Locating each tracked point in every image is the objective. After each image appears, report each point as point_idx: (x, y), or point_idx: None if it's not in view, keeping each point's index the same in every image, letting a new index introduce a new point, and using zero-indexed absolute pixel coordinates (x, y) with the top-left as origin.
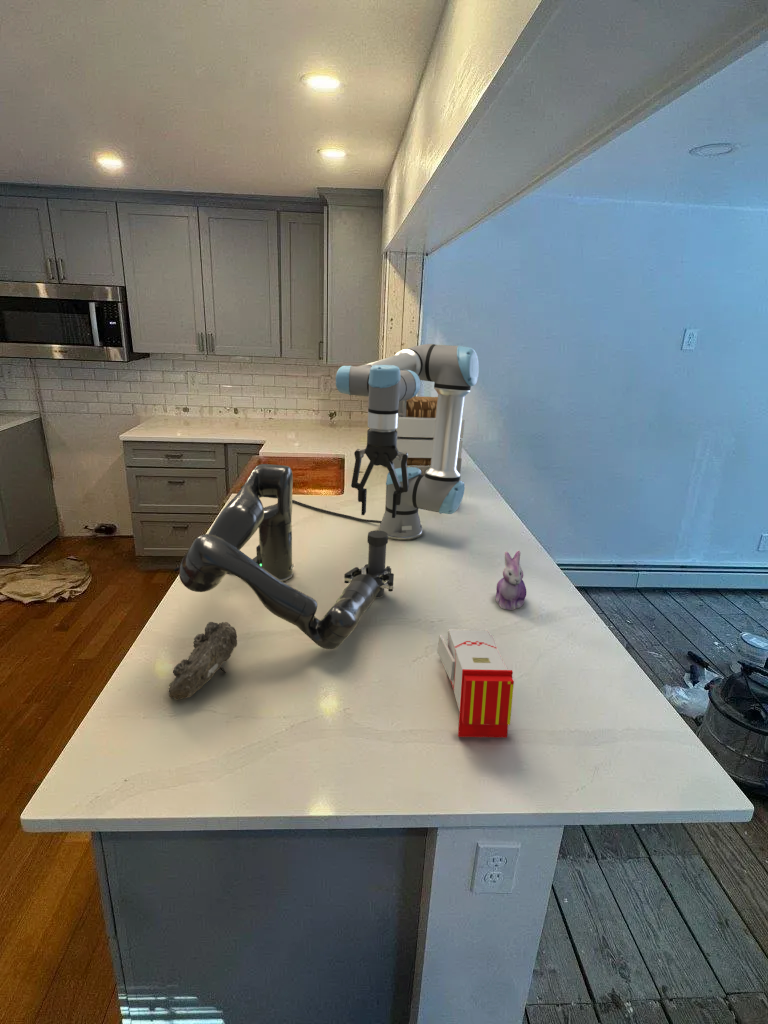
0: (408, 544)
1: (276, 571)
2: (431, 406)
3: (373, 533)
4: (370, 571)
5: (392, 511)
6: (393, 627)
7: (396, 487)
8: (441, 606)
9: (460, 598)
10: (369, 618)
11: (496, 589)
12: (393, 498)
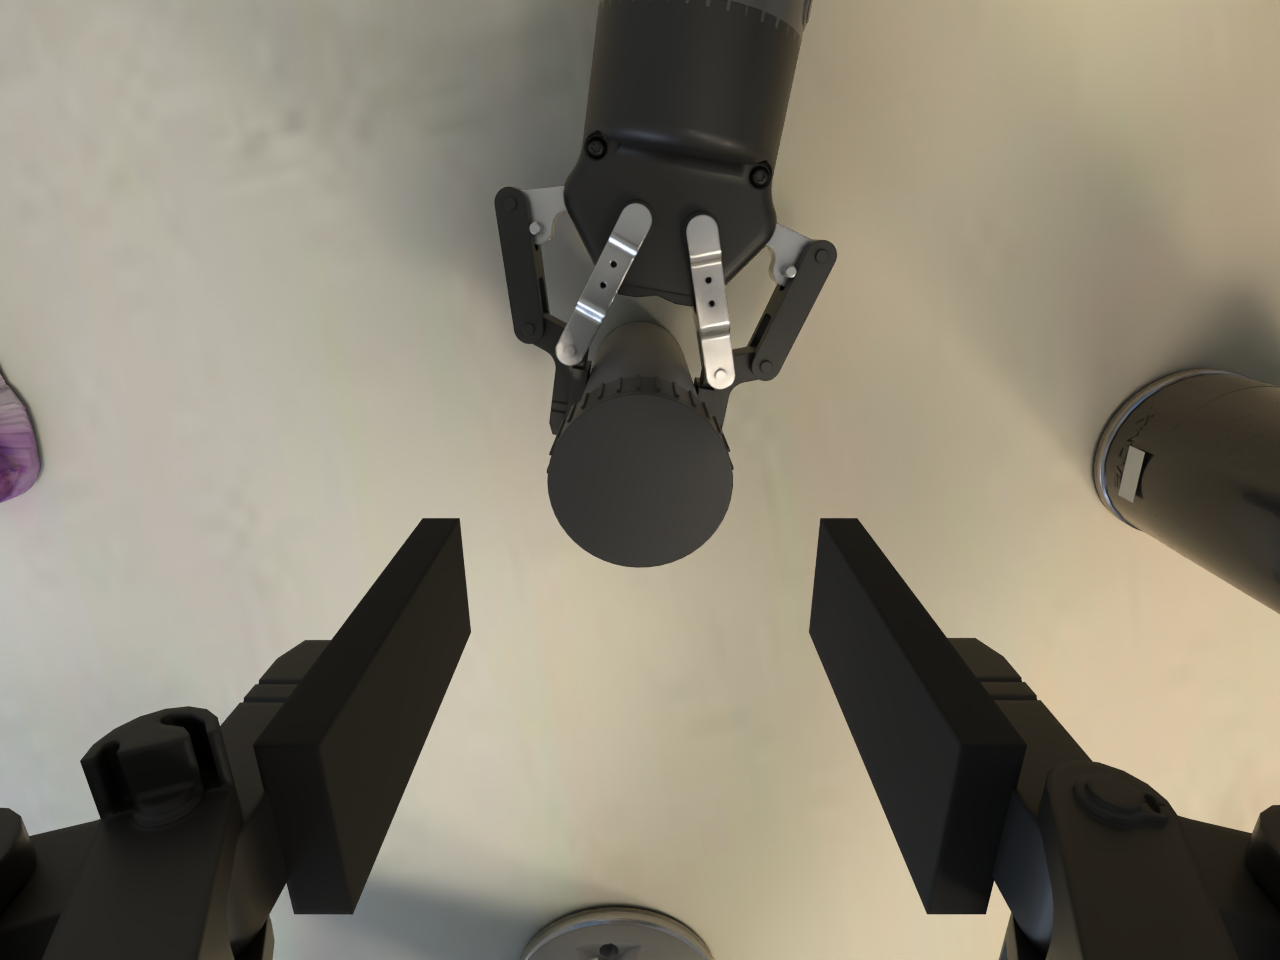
0: (562, 877)
1: (1225, 389)
2: None
3: (683, 489)
4: (672, 355)
5: (432, 556)
6: (483, 3)
7: (148, 897)
8: (283, 305)
9: (210, 411)
10: None
11: (8, 473)
12: (348, 681)
